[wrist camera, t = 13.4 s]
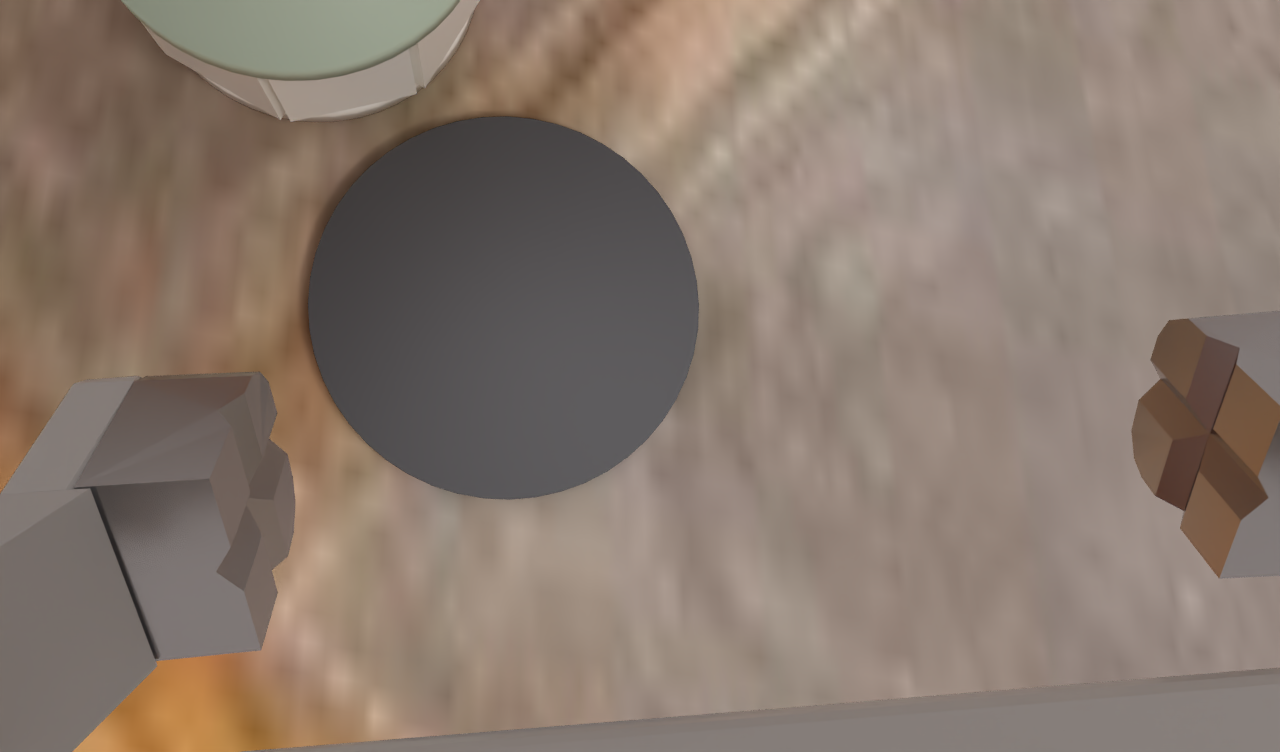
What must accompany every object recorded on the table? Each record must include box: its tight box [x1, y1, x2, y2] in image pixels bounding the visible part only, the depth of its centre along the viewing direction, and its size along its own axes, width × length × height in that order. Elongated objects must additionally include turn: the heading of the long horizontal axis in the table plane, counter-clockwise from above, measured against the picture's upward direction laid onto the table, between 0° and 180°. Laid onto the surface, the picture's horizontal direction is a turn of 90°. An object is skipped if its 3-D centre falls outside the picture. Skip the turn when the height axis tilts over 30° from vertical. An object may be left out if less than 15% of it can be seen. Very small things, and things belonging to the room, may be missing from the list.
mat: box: [308, 117, 699, 499], centre depth 36 cm, size 13×13×1 cm
